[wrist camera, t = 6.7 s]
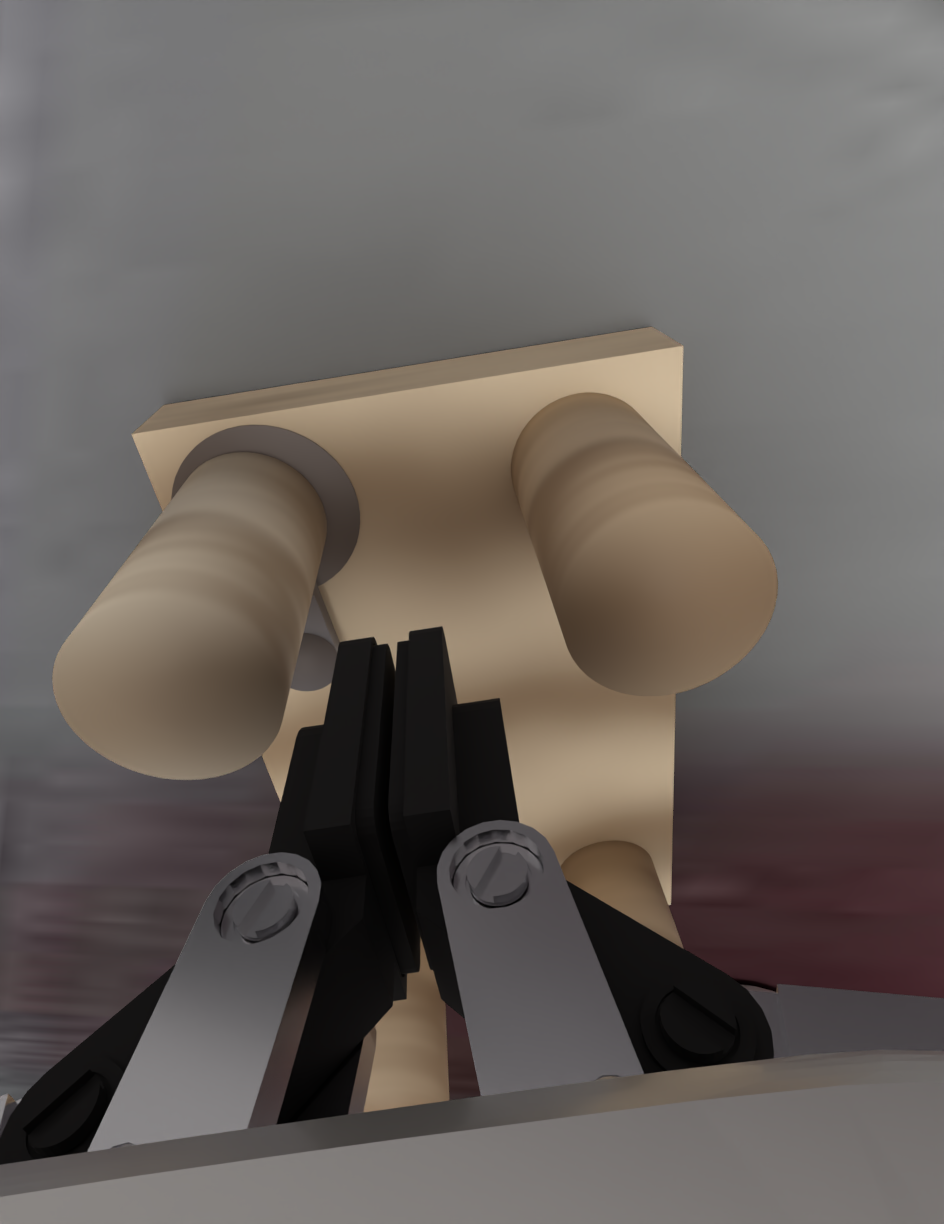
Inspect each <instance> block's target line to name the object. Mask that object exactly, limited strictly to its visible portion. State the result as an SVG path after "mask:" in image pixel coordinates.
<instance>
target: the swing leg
mask: <svg viewBox="0 0 944 1224" xmlns="http://www.w3.org/2000/svg"><path fill="white" fill-rule="evenodd" d="M326 534H327V520H326V514H325V510H324V507H323V504H322V502H321V500H320V497H319V496H318V494H317V492H316V491H315V489H314V488H313V487H312V485H311V484H310V483H309V481H308V480H307V479H306V478H304V477H303V476H302V475H301V474H300V473H299V472H298V471H296V470H295V469H294V468H292V467H291V466H289V465H287V464H286V463H284V462H282V461H280V460H278V459H275V458H273V457H270V456H267V455H263V454H258V453H250V452H234V453H228V454H223V455H220V456H217V457H214V458H212V459H210V460H208V461H206V462H205V463H203V464H202V465H200V466H199V467H198V468H197V469H196V470H195V471H193V472H192V474H191V475H190V476H189V477H188V479H187V480H186V481H185V483H184V484H183V485H182V487H181V488H180V489H179V491H178V492H177V493H176V495H175V496H174V497H173V499H172V500H171V501H170V503H169V504H168V505H167V507H166V508H165V509H164V511H163V512H162V513H161V515H160V516H159V517H158V519H157V520H156V521H155V523H154V524H153V525H152V527H151V528H150V529H149V531H148V532H147V533H146V535H145V536H144V537H143V539H142V540H141V541H140V543H139V544H138V545H137V547H136V548H135V549H134V550H133V552H132V553H131V554H130V556H129V557H128V558H127V560H126V561H125V562H124V564H123V565H122V566H121V568H120V569H119V570H118V572H117V573H116V574H115V576H114V577H113V578H112V580H111V581H110V582H109V584H108V585H107V586H106V588H105V589H104V590H103V592H102V593H101V594H100V596H99V597H98V598H97V600H96V601H95V602H94V604H93V605H92V606H91V608H90V609H89V610H88V612H87V613H86V614H85V616H84V617H83V618H82V620H81V621H80V622H79V624H78V625H77V626H76V628H75V629H74V630H73V632H72V633H71V634H70V636H69V637H68V638H67V640H66V641H65V642H64V644H63V645H62V647H61V649H60V651H59V653H58V654H57V657H56V660H55V664H54V667H53V677H52V680H53V691H54V695H55V699H56V702H57V704H58V707H59V709H60V712H61V713H62V715H63V717H64V718H65V720H66V722H67V723H68V725H69V726H70V727H71V728H72V730H73V731H74V732H75V733H76V734H77V735H78V736H79V737H80V738H81V739H82V740H83V741H84V742H85V743H86V744H87V745H88V746H90V747H91V748H92V749H93V750H95V751H96V752H98V753H99V754H101V755H102V756H104V757H105V758H107V759H109V760H111V761H113V762H115V763H116V764H118V765H120V766H123V767H125V768H128V769H130V770H133V771H136V772H139V773H142V774H146V775H150V776H155V777H159V778H166V779H175V780H197V779H207V778H213V777H218V776H221V775H225V774H229V773H231V772H234V771H236V770H239V769H241V768H243V767H245V766H246V765H248V764H250V763H252V762H253V761H254V760H256V759H257V758H258V757H260V756H261V755H262V754H263V753H264V752H265V751H266V750H267V749H268V748H269V747H270V745H271V744H272V743H273V741H274V740H275V738H276V736H277V734H278V732H279V730H280V727H281V724H282V721H283V717H284V712H285V708H286V704H287V700H288V696H289V691H290V688H292V689H294V690H298V691H315V690H319V689H322V688H324V687H326V686H327V685H329V684H330V683H331V682H332V677H333V672H334V667H335V662H336V656H337V651H338V646H339V643H340V641H339V639H338V636H337V634H336V631H335V629H334V626H333V623H332V621H331V618H330V616H329V613H328V611H327V608H326V606H325V603H324V601H323V598H322V595H321V593H320V590H319V588H318V585H317V583H316V578H317V574H318V570H319V566H320V562H321V557H322V553H323V549H324V545H325V541H326Z"/></svg>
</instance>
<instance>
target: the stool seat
mask: <svg viewBox="0 0 944 1224" xmlns="http://www.w3.org/2000/svg"><path fill="white" fill-rule="evenodd" d="M682 381H683V345H681V344H680V343H678V342H676V341H675V340H673V339H671V338H670V337H668V336H666V335H665V334H663V333H661V332H660V331H658V330H656V329H655V328H653V327H647V328H640V329H634V330H628V331H622V332H615V333H609V334H603V335H597V336H590V337H584V338H578V339H572V340H566V341H559V342H553V343H547V344H541V345H534V346H528V347H522V348H516V349H510V350H503V351H497V352H491V353H485V354H478V355H472V356H466V357H460V358H453V359H447V360H441V361H435V362H429V363H422V364H416V365H410V366H404V367H397V368H391V369H385V370H379V371H373V372H366V373H360V374H354V375H348V376H341V377H335V378H329V379H323V380H316V381H310V382H304V383H298V384H292V385H285V386H279V387H273V388H267V389H260V390H254V391H248V392H242V393H235V394H229V395H223V396H217V397H211V398H204V399H198V400H192V401H186V402H179V403H173V404H167V405H163V406H162V407H161V408H160V409H159V410H158V411H157V412H155V413H154V414H153V415H152V416H151V417H150V418H149V419H148V420H147V421H146V422H144V423H143V424H142V425H141V426H140V427H139V428H138V429H137V430H136V431H134V432H133V433H132V437H133V439H134V442H135V444H136V447H137V449H138V451H139V454H140V456H141V459H142V461H143V464H144V466H145V469H146V471H147V474H148V476H149V479H150V481H151V484H152V486H153V488H154V491H155V493H156V496H157V498H158V501H159V503H160V506H161V508H162V511H164V509H165V508H166V507H167V505H168V504H169V503H170V501H171V500H172V499H173V497H174V496H175V495H176V493H177V492H178V491H179V489H180V488H181V487H182V485H183V484H184V483H185V481H186V480H187V479H188V477H189V476H190V475H191V474H192V472H193V471H195V470H196V469H197V468H198V467H199V466H200V465H202V464H203V463H205V462H206V461H208V460H210V459H212V458H214V457H217V456H220V455H223V454H228V453H234V452H250V453H258V454H263V455H267V456H270V457H273V458H275V459H278V460H280V461H282V462H284V463H286V464H287V465H289V466H291V467H292V468H294V469H295V470H296V471H298V472H299V473H300V474H301V475H302V476H303V477H304V478H306V479H307V480H308V481H309V483H310V484H311V485H312V487H313V488H314V489H315V491H316V492H317V494H318V496H319V497H320V500H321V502H322V504H323V507H324V510H325V514H326V520H327V534H326V541H325V545H324V549H323V553H322V557H321V562H320V566H319V570H318V574H317V578H316V583H317V585H318V588H319V590H320V593H321V595H322V598H323V601H324V603H325V606H326V608H327V611H328V613H329V616H330V618H331V621H332V623H333V626H334V629H335V631H336V634H337V636H338V639H339V641H340V642H342V641H348V640H355V639H362V638H368V637H374V638H375V640H376V642H377V645H381V644H387V643H388V645H389V647H390V650H391V654H392V658H393V663H394V667H395V671H396V655H397V642H400V641H407V640H409V632H410V631H414V630H421V629H427V628H434V627H440V626H442V627H443V630H444V634H445V639H446V645H447V650H448V655H449V661H450V666H451V671H452V676H453V682H454V687H455V692H456V698H457V703H458V704H462V703H469V702H475V701H482V700H489V699H495V698H500V703H501V709H502V716H503V722H504V728H505V735H506V741H507V747H508V753H509V760H510V766H511V772H512V779H513V785H514V791H515V798H516V804H517V810H518V817H519V823H522V824H525V825H527V826H530V827H532V828H534V829H535V830H537V831H538V832H539V833H540V834H542V835H543V836H544V837H545V838H546V839H547V840H548V842H549V844H550V845H551V847H552V848H553V850H554V852H555V854H556V857H557V859H558V862H559V864H560V867H561V869H562V872H563V874H564V877H565V879H566V880H567V881H569V882H571V883H572V884H574V885H576V886H577V887H579V888H581V889H583V890H584V891H586V892H588V893H589V894H591V895H593V896H594V897H596V898H598V899H600V900H601V901H603V902H605V903H606V904H608V905H610V906H612V907H613V908H615V909H617V910H618V911H620V912H622V913H623V914H625V915H627V916H629V917H630V918H632V919H634V920H635V921H637V922H639V923H640V924H642V925H644V926H646V927H647V928H649V929H651V930H652V931H654V932H656V933H657V934H659V935H661V936H663V937H664V938H666V939H668V940H669V941H671V942H673V943H675V944H676V945H678V946H680V947H681V948H683V946H682V943H681V940H680V937H679V934H678V931H677V929H676V926H675V923H674V920H673V917H672V915H671V912H670V909H669V906H668V905H671V880H672V834H673V789H674V744H675V698H676V693H681V692H684V691H687V690H691V689H694V688H696V687H699V686H701V685H703V684H706V683H708V682H710V681H712V680H714V679H715V678H717V677H719V676H721V675H722V674H724V673H725V672H727V671H728V670H730V669H731V668H732V667H733V666H735V665H736V664H737V663H738V662H740V661H741V660H742V659H743V658H744V657H745V656H746V655H747V654H748V653H749V652H750V651H751V649H752V648H753V647H754V646H755V645H756V643H757V642H758V641H759V639H760V638H761V636H762V635H763V633H764V631H765V630H766V628H767V626H768V624H769V622H770V620H771V617H772V614H773V611H774V608H775V604H776V599H777V591H778V579H777V571H776V567H775V564H774V561H773V558H772V556H771V554H770V552H769V550H768V548H767V547H766V545H765V544H764V543H763V541H762V540H761V538H760V537H759V536H758V535H757V534H756V533H755V532H754V531H753V530H752V529H751V528H750V527H749V526H748V525H747V524H746V523H745V522H744V521H743V520H742V519H741V518H740V517H739V516H738V515H737V514H736V513H735V512H734V511H733V510H732V509H731V508H730V507H729V506H728V505H727V504H726V503H725V502H724V501H723V500H722V498H721V497H720V496H719V495H718V494H717V493H716V492H715V491H714V490H713V489H712V488H711V487H710V486H709V485H708V484H707V483H706V482H705V481H704V480H703V479H702V478H701V477H700V476H699V475H698V474H697V473H696V472H695V471H694V470H693V469H692V468H691V467H690V466H689V465H688V464H687V463H686V462H685V461H684V460H683V458H682V457H681V427H682ZM331 683H332V682H331ZM331 683H330V684H329V685H327V686H326V687H324V688H322V689H319V690H315V691H298V690H294V689H292V688H290V691H289V696H288V700H287V704H286V708H285V712H284V717H283V721H282V724H281V727H280V730H279V732H278V734H277V736H276V738H275V740H274V741H273V743H272V744H271V745H270V747H269V748H268V749H267V750H266V751H265V752H264V753H263V754H262V757H263V760H264V762H265V765H266V767H267V770H268V772H269V775H270V777H271V780H272V782H273V784H274V787H275V789H276V792H277V794H278V797H279V799H280V802H281V799H282V795H283V791H284V787H285V783H286V778H287V774H288V770H289V766H290V762H291V757H292V753H293V749H294V745H295V740H296V737H297V734H298V731H299V730H300V729H301V728H303V727H309V726H316V725H322V724H324V719H325V714H326V709H327V704H328V698H329V693H330V688H331ZM683 949H684V948H683ZM375 1028H376V1031H377V1035H376V1050H375V1055H374V1060H373V1065H372V1071H371V1076H370V1081H369V1086H368V1091H367V1096H366V1102H365V1107H364V1112H371V1111H378V1110H385V1109H392V1108H399V1107H406V1106H414V1105H421V1104H428V1103H435V1102H442V1101H449V1080H448V1056H447V1032H446V1008H445V1002H444V1001H443V1000H442V999H441V997H440V993H439V990H438V986H437V983H436V979H435V975H434V972H433V970H430V968H429V964H428V961H427V957H426V954H425V950H424V947H423V943H422V940H421V936H420V971H419V972H416V973H409V974H407V999H405V1000H398V1001H393V1006H392V1008H391V1009H390V1010H389V1011H388V1012H387V1013H386V1014H385V1015H384V1016H383V1017H382V1019H381V1020H380V1021H379V1022H378V1023H377V1024H376V1025H375ZM364 1112H363V1113H364Z"/></svg>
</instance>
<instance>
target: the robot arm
mask: <svg viewBox="0 0 944 1224" xmlns="http://www.w3.org/2000/svg"><path fill="white" fill-rule="evenodd" d="M420 936H421V940H422V943H423V947H424V950H425V954H426V957H427V961H428V964H429V968H430V970H433V972H434V975H435V979H436V983H437V986H438V990H439V993H440V997H441V999H442V1000H443V1001H444V1002H445V1003H446V1004H448V1005H449V1006H450V1007H451V1008H453V1009H454V1010H455V1011H456V1012H457V1013H459V1014H460V1015H461V1016H462V1017H463V1018H465V1020H466V1025H467V1030H468V1035H469V1040H470V1045H471V1050H472V1054H473V1059H474V1064H475V1069H476V1074H477V1079H478V1084H479V1088H480V1093H481V1096H479V1097H471V1098H464V1099H457V1100H449V1101H442V1102H435V1103H428V1104H421V1105H414V1106H406V1107H399V1108H392V1109H385V1110H378V1111H371V1112H364V1107H365V1102H366V1096H367V1091H368V1086H369V1081H370V1076H371V1071H372V1065H373V1060H374V1055H375V1050H376V1035H377V1031H376V1028H375V1025H376V1024H377V1023H378V1022H379V1021H380V1020H381V1019H382V1017H383V1016H384V1015H385V1014H386V1013H387V1012H388V1011H389V1010H390V1009H391V1008H392V1006H393V1001H398V1000H405V999H407V974H409V973H416V972H419V971H420ZM363 1112H364V1113H363ZM0 1224H944V998H933V997H921V996H910V995H898V994H887V993H875V992H864V991H852V990H841V989H829V988H818V987H806V986H795V985H783V984H777V989H776V992H774V991H772V990H768V989H764V988H760V987H756V986H750V985H741V984H739V983H738V982H737V981H735V980H734V979H733V978H731V977H730V976H729V975H727V974H726V973H724V972H722V971H721V970H719V969H717V968H715V967H714V966H712V965H710V964H709V963H707V962H705V961H703V960H702V959H700V958H698V957H697V956H695V955H693V954H692V953H690V952H688V951H686V950H685V949H683V948H681V947H680V946H678V945H676V944H675V943H673V942H671V941H669V940H668V939H666V938H664V937H663V936H661V935H659V934H657V933H656V932H654V931H652V930H651V929H649V928H647V927H646V926H644V925H642V924H640V923H639V922H637V921H635V920H634V919H632V918H630V917H629V916H627V915H625V914H623V913H622V912H620V911H618V910H617V909H615V908H613V907H612V906H610V905H608V904H606V903H605V902H603V901H601V900H600V899H598V898H596V897H594V896H593V895H591V894H589V893H588V892H586V891H584V890H583V889H581V888H579V887H577V886H576V885H574V884H572V883H571V882H569V881H567V880H566V879H565V877H564V874H563V872H562V869H561V867H560V864H559V862H558V859H557V857H556V854H555V852H554V850H553V848H552V847H551V845H550V844H549V842H548V840H547V839H546V838H545V837H544V836H543V835H542V834H540V833H539V832H538V831H537V830H535V829H534V828H532V827H530V826H527V825H525V824H522V823H519V817H518V810H517V804H516V798H515V791H514V785H513V779H512V772H511V766H510V760H509V753H508V747H507V741H506V735H505V728H504V722H503V716H502V709H501V703H500V698H495V699H489V700H482V701H475V702H469V703H462V704H458V703H457V698H456V692H455V687H454V682H453V676H452V671H451V666H450V661H449V655H448V650H447V645H446V639H445V634H444V630H443V627H442V626H440V627H434V628H427V629H421V630H414V631H410V632H409V640H407V641H400V642H397V655H396V671H395V667H394V663H393V658H392V654H391V650H390V647H389V645H388V643H387V644H381V645H377V642H376V640H375V638H374V637H368V638H362V639H355V640H348V641H342V642H340V643H339V646H338V651H337V656H336V662H335V667H334V672H333V677H332V683H331V688H330V693H329V698H328V704H327V709H326V714H325V719H324V724H322V725H316V726H309V727H303V728H301V729H300V730H299V731H298V734H297V737H296V740H295V745H294V749H293V753H292V757H291V762H290V766H289V770H288V774H287V778H286V783H285V787H284V791H283V795H282V799H281V804H280V808H279V812H278V816H277V821H276V825H275V829H274V833H273V837H272V842H271V846H270V850H269V854H266V855H262V856H259V857H257V858H254V859H252V860H249V861H246V862H245V863H243V864H242V865H240V866H238V867H237V868H235V869H234V870H232V871H231V872H229V873H228V874H227V875H226V876H225V877H224V878H223V879H222V880H221V881H220V882H219V883H218V884H217V885H216V886H215V887H214V889H213V891H212V892H211V894H210V895H209V897H208V898H207V900H206V901H205V903H204V906H203V908H202V910H201V912H200V914H199V916H198V918H197V920H196V922H195V925H194V927H193V929H192V931H191V933H190V935H189V937H188V939H187V942H186V944H185V946H184V948H183V950H182V952H181V954H180V956H179V958H178V961H177V963H176V964H175V965H174V966H173V967H172V968H171V969H169V970H168V971H167V972H166V973H165V974H163V975H162V976H161V977H160V978H159V979H157V980H156V981H155V982H154V983H153V984H151V985H150V986H149V987H148V988H147V989H146V990H144V991H143V992H142V993H141V994H140V995H138V996H137V997H136V998H135V999H134V1000H132V1001H131V1002H130V1003H129V1004H128V1005H126V1006H125V1007H124V1008H123V1009H122V1010H120V1011H119V1012H118V1013H117V1014H116V1015H114V1016H113V1017H112V1018H111V1019H110V1020H109V1021H107V1022H106V1023H105V1024H104V1025H103V1026H101V1027H100V1028H99V1029H98V1030H97V1031H95V1032H94V1033H93V1034H92V1035H91V1036H89V1037H88V1038H87V1039H86V1040H85V1041H83V1042H82V1043H81V1044H80V1045H79V1046H77V1047H76V1048H75V1049H74V1050H73V1051H72V1052H70V1053H69V1054H68V1055H67V1056H66V1057H64V1058H63V1059H62V1060H61V1061H60V1062H58V1063H57V1064H56V1065H55V1066H54V1067H52V1068H51V1069H50V1070H49V1071H48V1072H46V1073H45V1074H44V1075H43V1076H42V1077H41V1078H40V1079H39V1080H38V1081H37V1082H36V1083H35V1084H34V1085H33V1086H32V1087H31V1088H30V1089H29V1090H28V1091H27V1093H26V1094H25V1095H24V1097H23V1098H22V1099H20V1100H17V1101H15V1100H14V1099H13V1098H12V1097H11V1096H10V1095H9V1094H6V1095H3V1096H0Z"/></svg>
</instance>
